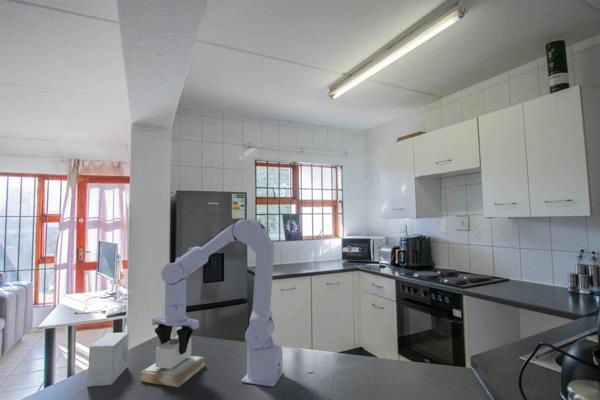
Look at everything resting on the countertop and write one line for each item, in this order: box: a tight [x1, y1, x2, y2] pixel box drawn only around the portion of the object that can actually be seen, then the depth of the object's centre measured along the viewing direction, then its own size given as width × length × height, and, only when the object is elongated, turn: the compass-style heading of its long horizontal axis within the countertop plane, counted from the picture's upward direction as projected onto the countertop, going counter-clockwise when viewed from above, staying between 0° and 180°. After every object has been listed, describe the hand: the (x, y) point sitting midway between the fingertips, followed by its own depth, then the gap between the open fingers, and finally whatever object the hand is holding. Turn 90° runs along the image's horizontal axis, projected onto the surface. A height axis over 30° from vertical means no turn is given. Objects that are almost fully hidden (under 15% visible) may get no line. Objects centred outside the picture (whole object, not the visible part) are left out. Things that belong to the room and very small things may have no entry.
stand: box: [140, 354, 206, 388], centre depth 87 cm, size 12×12×3 cm
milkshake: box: [171, 326, 182, 339], centre depth 106 cm, size 5×5×10 cm
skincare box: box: [86, 331, 130, 388], centre depth 86 cm, size 10×6×10 cm, turn 9°
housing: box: [155, 336, 192, 369], centre depth 87 cm, size 9×5×6 cm, turn 165°
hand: (174, 351), depth 87 cm, fingers closed on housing, 5 cm apart
